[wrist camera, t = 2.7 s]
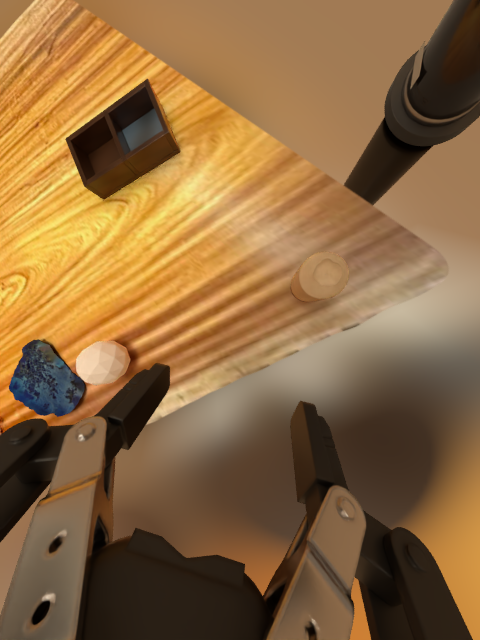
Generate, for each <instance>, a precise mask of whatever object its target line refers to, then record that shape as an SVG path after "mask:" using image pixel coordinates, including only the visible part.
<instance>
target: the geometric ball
mask: <svg viewBox="0 0 480 640" xmlns="http://www.w3.org/2000/svg"><path fill="white" fill-rule="evenodd" d="M130 360H131V359H130V357H129V354H128V351H127V349H126V347H124V346H122V345H120V344H119V343H117V342H115V341H97V342H95V343H94V344H92V345H90V346H89V347H87V348H86V349H84V350H82V352H81V353H80V354H79V356H78V357H77V360H76V371H77V373H78V375H79V376H80V378H81V379H82V380H84V381H85V382H87V383H90V384H93V385H100V384H107V383H113V382H114V381H116V380H117V379H118V378H120V377H121V376H122V375H124V374H125V373H126V371H127V368H128V365H129V363H130Z"/></svg>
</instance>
